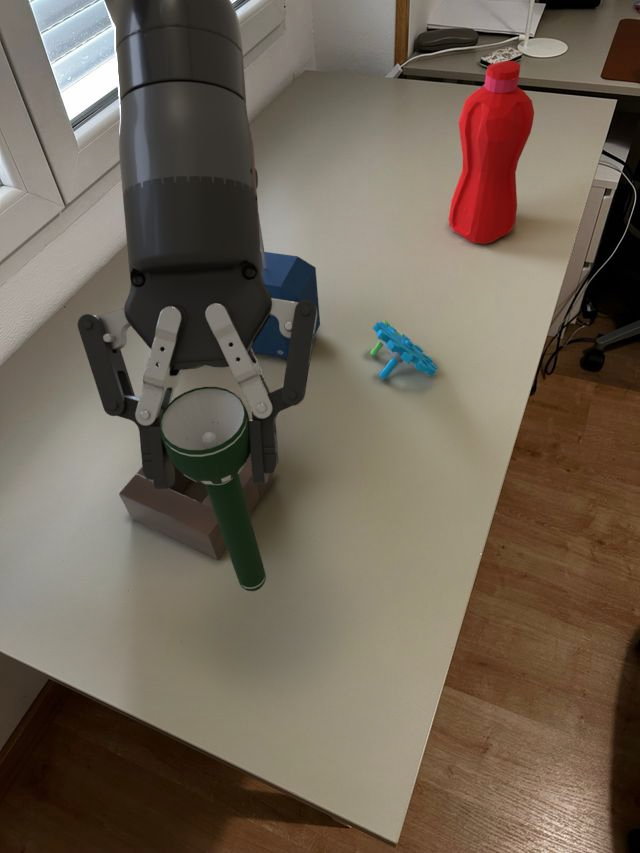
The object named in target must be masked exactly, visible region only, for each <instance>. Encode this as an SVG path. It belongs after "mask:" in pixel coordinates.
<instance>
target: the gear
mask: <svg viewBox="0 0 640 853" xmlns="http://www.w3.org/2000/svg"><path fill="white" fill-rule="evenodd" d="M372 330H374V332H376V334H375V335H376V337H377V338H378V340H379V341H378V342H377V344H376V345H375V346H374V347H373V349H372V350H371V351H370V352H369V354H370V355H371V356H372V357H375V356H377V354H378V353H379V351H381V349H382V348H383V346H384V348H385V349H386V350H387V351H388V353H389V354H390V356H391V357H392V358H391V359H390V360H389V362H388V363H387V364H386V365H385V366H384V368H383V369H382V370H381V372H380V373H379V374H378V377H380V379H381V380H384V381H386V380H387V378H388V377H389V376H390V374H391V373H392V372H393V371H394V369H395V368H396V367H397V366H398V364H402V363H403V362H404V363H406V365H409V364H410V363H413V364H414V368H415V369H416V370H417V371H419V373H422V374H424V373H425V374H426V375H427V376H430V377H433V376H434V375H435V374H436V373H437V370H439V367H438V366H437V365H436V364H434V360H433V359H432V357H430V356H429V355H427V354H425V353H424V350H423V349H422V348H421V347H420V346H419V345H417V344H414V343H413V341H411V339H410V338H409V337H408V336H406V335H405V334H404V333H402V334H401V333H400V332H398V330H397V329H396V328H395V327H393V326H392V325H391V324H390V322H388V321H387V320H383V321H381V320H378V322H376V323H375V324H374V325H373V327H372Z"/></svg>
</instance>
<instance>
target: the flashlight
mask: <svg viewBox="0 0 640 853" xmlns="http://www.w3.org/2000/svg"><path fill="white" fill-rule="evenodd" d="M249 416H250V415H249V412H248V410H247V408H246V405H245V403H244V402H243V400H242V399H241V398H240V397H239V396H238V395H237V394H236V393H235V392H232V391H231V390H229V389H227V388H223V387H220V386H201V387H196V388H192V389H189V390H187V391H184V392H183V393H181V394H179V395H178V396H176V397H175V398H173V400H171V402H170V403H169V404H168V406H167V407H166V409H165V410H164V412H163V414H162V417H161V421H160V432H161V437H162V440H163V442H164V445H165V448H166V450H167V453H168V455H169V457H170V460H171V462H172V464H173V465H174V466H175V467H176V468H177V469H178V470H179V471H180V472H181V473H183V474H184V475H185V476H186V477H188V478H190V479H191V481H194V482H195V483H200V484H203V485H204V486H205V489H206V492H207V495H209V497H210V500H211V503H212V506H213V509H214V512H215V515H216V518H217V521H218V523H219V526H220V529H221V532H222V535H223V538H224V541H225V544H226V550H227V552H228V555H229V559H230V560H231V564H232V566H233V570H234V574H235V575H236V579H237V581H238V584H239V586H240V587H241V588H242V589H243V590H245V591H247V592H256V591H258V590H260V589H261V588H263V586H264V585H265V583H266V580H267V574H266V571H265V567H264V563H263V559H262V558H263V557H262V555H261V552H260V549H259V544H258V540H257V536H256V533H255V529H254V525H253V521H252V519H251V515H250V514H251V513H250V514H249V511H248V507H247V503H246V499H245V496H244V492H243V488H242V485H241V481H240V477H239V473H240V471H241V470H242V469H243V468H244V466H245V463H246V461H247V460H248V458H249V456H250V453H251V450H250V437H249V423H248V421H250V420H251V419H250V417H249Z"/></svg>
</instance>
